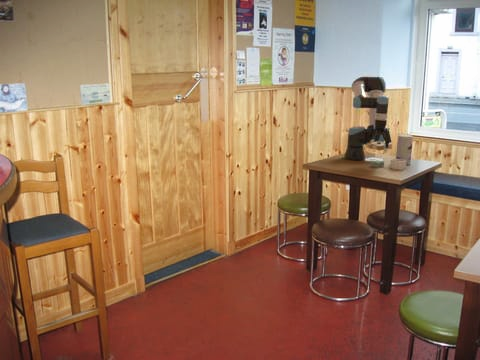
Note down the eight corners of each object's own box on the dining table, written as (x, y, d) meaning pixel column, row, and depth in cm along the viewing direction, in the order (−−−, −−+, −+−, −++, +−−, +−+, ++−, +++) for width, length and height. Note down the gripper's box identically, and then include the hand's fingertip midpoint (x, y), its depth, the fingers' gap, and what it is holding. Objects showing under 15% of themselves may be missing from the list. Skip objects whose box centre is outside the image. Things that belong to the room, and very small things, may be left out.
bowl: (387, 167, 349) (388, 159, 347) (397, 166, 353) (398, 158, 352) (398, 170, 341) (398, 162, 339) (408, 168, 345) (408, 160, 344)
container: (411, 165, 356) (413, 136, 351) (396, 164, 358) (398, 136, 353) (409, 162, 366) (412, 134, 361) (395, 161, 368) (397, 134, 363)
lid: (365, 147, 350) (366, 141, 349) (378, 145, 356) (379, 139, 355) (378, 150, 340) (379, 144, 339) (391, 148, 346) (392, 142, 345)
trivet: (370, 166, 352) (371, 161, 351) (377, 165, 355) (377, 160, 354) (377, 167, 347) (377, 162, 346) (383, 166, 350) (384, 162, 349)
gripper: (364, 117, 351) (361, 147, 357) (390, 122, 331) (387, 154, 337) (372, 116, 355) (369, 146, 361) (398, 121, 335) (395, 153, 341)
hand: (378, 150), depth 349 cm, fingers closed on lid, 12 cm apart
